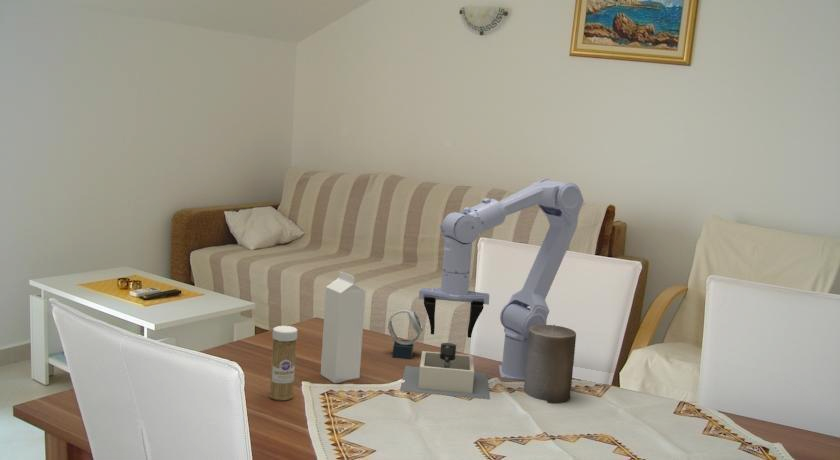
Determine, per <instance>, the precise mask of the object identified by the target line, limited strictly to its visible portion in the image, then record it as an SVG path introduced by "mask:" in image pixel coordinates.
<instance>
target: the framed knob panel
mask: <svg viewBox="0 0 840 460" xmlns="http://www.w3.org/2000/svg"><path fill="white" fill-rule="evenodd" d="M419 367H420V371H419V383H418V388H421V389H432V390H443V391H454V392H465V393H472V391H473V380H474V372H475V365H474V356H473V355H471V354H462V353H461V354H460V353H456V355H455V360H450V368H444V360H443V359H441V358H440V351H439V352H438V351H425V350H421V358H420V364H419Z"/></svg>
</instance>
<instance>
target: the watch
mask: <svg viewBox="0 0 840 460" xmlns="http://www.w3.org/2000/svg"><path fill="white" fill-rule="evenodd" d="M403 313H404V314H405V313H406V314H407V316H408V319H409V321H410V324H411V326H412V328H413V330H414V331H415V332H416V333H417V336H416V337H415V338H413V339H412V340H406V339H399V338H398V335H397V334H396V332H395V330H394V327H393V324H392V319H393V318H394V317H395V316H396V315H398V314H403ZM387 328H388V332H389V335H390V337H391V338H392V340H393V341H394V342H393V345H392V358H393V359H404V360H412V358H413V353H414V345H415V343H416V342H417V341H418V340H419V338H420V337H421V332H424V331H423V330H424V329H423V325H422V323H421V320H420V318H419V316H418V314H417V312H416V311H412V310H411V309H407V308H401V309H398V310H395V312H393V313H392V314H391V316H390V318H389V320H388V324H387Z"/></svg>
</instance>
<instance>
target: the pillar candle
mask: <svg viewBox="0 0 840 460" xmlns="http://www.w3.org/2000/svg"><path fill="white" fill-rule="evenodd" d="M576 340H577V333H576V331H574V330H573V329H570V328H568V327H565V326H561V325H555V324H546V325H534V326H531V327H530V328H529V338H528V350H527V361H526V372H525V380H524V387H523V392H524V393H525V394H526V395H528V396H529V397H532V398H534V399H537V400H540V401H541V400H542V401H546V402H547V403H562V402H567V401H569V400H570V399H571V391H572V389H571V388H572V383H573V371H574V362H575V351H576V342H577V341H576Z"/></svg>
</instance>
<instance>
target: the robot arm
mask: <svg viewBox="0 0 840 460" xmlns="http://www.w3.org/2000/svg"><path fill="white" fill-rule="evenodd" d="M584 201H585V200H584V197H583V194H582V191H581V189H580V187H579V186H578V185H577V184H575V182H565V181H558V180H552V179H549V178H544V179H541V180H539V181H535V182H532V183H531V185H529V186H527V187H525V188H523V189H521V190H519V191H517V192H515V193H513V194H512V195H510V196H506V198H503V199H501V200H497V199H495V198H488V197H485V198H483V199H481V203H478V204H477V205H473V206H472V207H468V206H466V207H464V208H463V210H462V211H461V212H455V211H454V212H450V213H448V214H447V215H446V217H445V218H444V219H443V221H442V223H441V224H440V225H439V230H440V233H441V235H442V236H443V238H444V239H443V244H444V245H443V246H444V247H443V256H442V257H443V258H442V270H441V282H440V283H441V285H440V288H435V287H434V288H433V287H432V288H426V287H425V288H424V287H420V288H419V291H418V292H419V293H418V300H423V305H424V308H425V311H426V315H427V317H428V321H429V327H430V335H435V329H436V328H435V326H436V325H435V323H436V321H435V320H436V319H435V318H436V316H435V314H436V305H437V300H438V301H439V300H440V301H448V302H450V301H451V302H459V303H460V302H461V303H470V309H469V321H468V325H467V327H468V328H467V338H472V334H473V330H474V328H475V325H476V322H477V320H478V319H479V317H480V315H481V313H482V312H483V310H484V305H488V306H489V304H490V293H487V292H479V291H473V290H470V289H469V288H470V285H469V284H470V276H471V275H470V274H471V263H472V262H471V261H472V252H473V251H472V250H473V243H474V242H475V241H476V240H477V239H478V237H479V235H481V234H483V233H484V232H486V231H489V230H491V229H494V228H496V227H498V226H500V225H502V224H503V223H504V222H505V221H506V217H507V216H509V215H512V214H515V213H518V212H520V211H524V210H526V209H528V208H530V207H533V206H536V205H537V207H538V208H539V209H540V211H542V213H543V214H544V215H545V217H546V218H547V220H548V223H549V224H548V225H549V226H548V230H547V232H546V235H545V237H544V239H543V241H542V243H541V244H540V247H539V250H538V252H537V254H536V257H535V259H534V261H533V264H532V266H531V268H530V270H529V273H528V274H527V277H526V280H525V282H524V284H523V286H522V288H521V290H519V291H516V292H515V293H513V294H512V295H511V297H510V300H508V302H507V303H506V304H505V305H504V306H503V307H502V309H501V312H500V315H499V320H500V323H501V325H502V326H503V328H504V329H503V332H504V344H503V354H502V363H501V364H500V365H498V369H499V371H498V372H499V374H500V378H502V379H511V380H521V381H522V380H523V381H525V372H526V361H527V350H528V338H529V328H530V327H531V326H534V325H547V319H548V315H549V313H550V308H549V306H548V304H547V302H546V301H547V300H546V298H547V296H548V295H549V292H550V290H551V287H552V285H553V282H554V280H555V278H556V276H557V273H558V271H559V269H560V266H561V265H562V263H563V260H564V257H565V255H566V253H567V251H568V248H569V246H570V243H571V241H572V239H573V237H574V235H575V232H576V230H577V228H578V219H579V212H580V210H581V208H582V205H583V204H584Z"/></svg>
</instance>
